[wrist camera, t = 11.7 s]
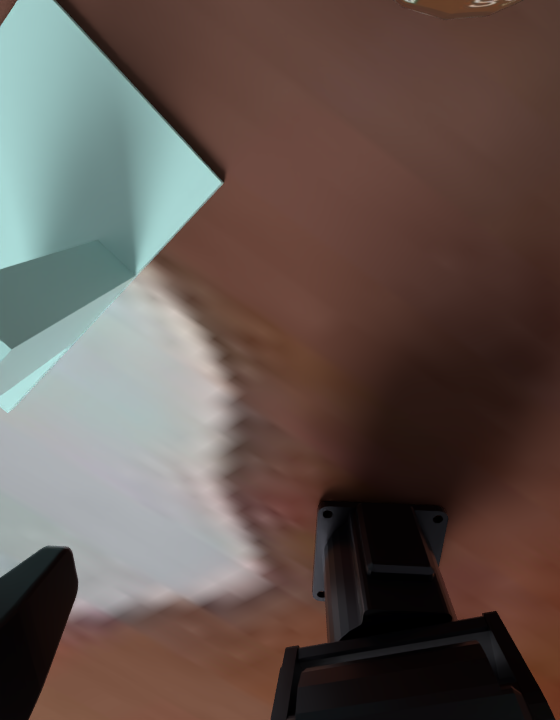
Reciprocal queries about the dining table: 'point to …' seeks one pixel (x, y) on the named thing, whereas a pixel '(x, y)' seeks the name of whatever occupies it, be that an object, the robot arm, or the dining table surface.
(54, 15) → the lid
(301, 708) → the robot arm
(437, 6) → the food container
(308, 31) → the dining table surface
